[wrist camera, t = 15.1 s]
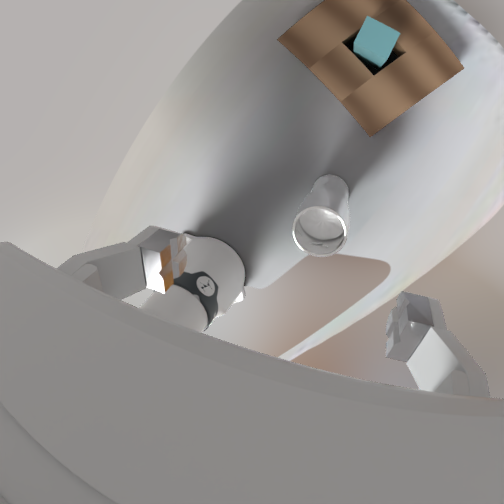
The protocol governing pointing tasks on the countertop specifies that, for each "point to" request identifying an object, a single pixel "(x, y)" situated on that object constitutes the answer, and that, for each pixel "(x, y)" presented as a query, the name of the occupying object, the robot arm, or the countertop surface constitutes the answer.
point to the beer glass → (323, 217)
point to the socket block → (354, 71)
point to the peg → (374, 42)
